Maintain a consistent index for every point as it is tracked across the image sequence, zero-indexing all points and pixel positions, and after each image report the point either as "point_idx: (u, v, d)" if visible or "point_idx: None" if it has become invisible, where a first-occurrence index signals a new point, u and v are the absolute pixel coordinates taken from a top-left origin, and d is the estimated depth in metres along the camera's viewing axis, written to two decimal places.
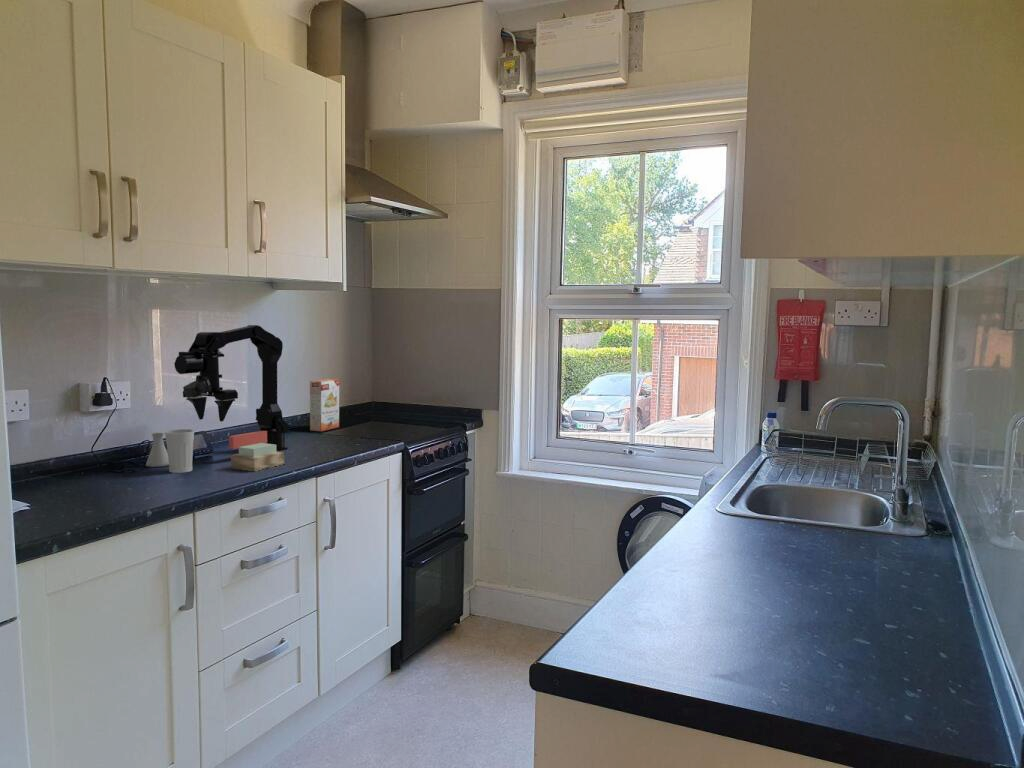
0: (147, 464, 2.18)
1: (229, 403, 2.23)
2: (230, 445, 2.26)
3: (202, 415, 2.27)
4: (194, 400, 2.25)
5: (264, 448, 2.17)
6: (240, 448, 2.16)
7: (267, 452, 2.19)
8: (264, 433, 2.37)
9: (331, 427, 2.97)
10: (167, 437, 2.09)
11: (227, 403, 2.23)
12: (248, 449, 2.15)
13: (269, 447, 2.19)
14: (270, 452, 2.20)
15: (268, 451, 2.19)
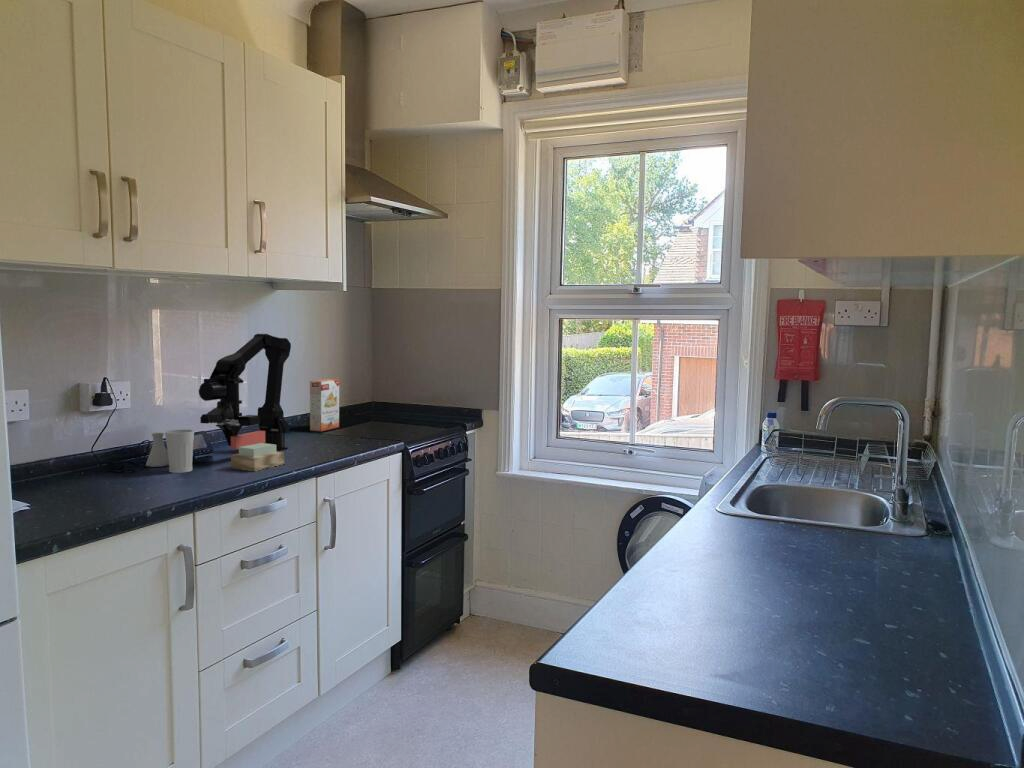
0: (147, 464, 2.18)
1: (239, 428, 2.29)
2: (232, 445, 2.26)
3: None
4: (224, 427, 2.26)
5: (264, 448, 2.17)
6: (240, 448, 2.16)
7: (267, 452, 2.19)
8: (262, 433, 2.37)
9: (331, 427, 2.97)
10: (167, 437, 2.09)
11: (237, 428, 2.29)
12: (248, 449, 2.15)
13: (269, 447, 2.19)
14: (270, 452, 2.20)
15: (268, 451, 2.19)
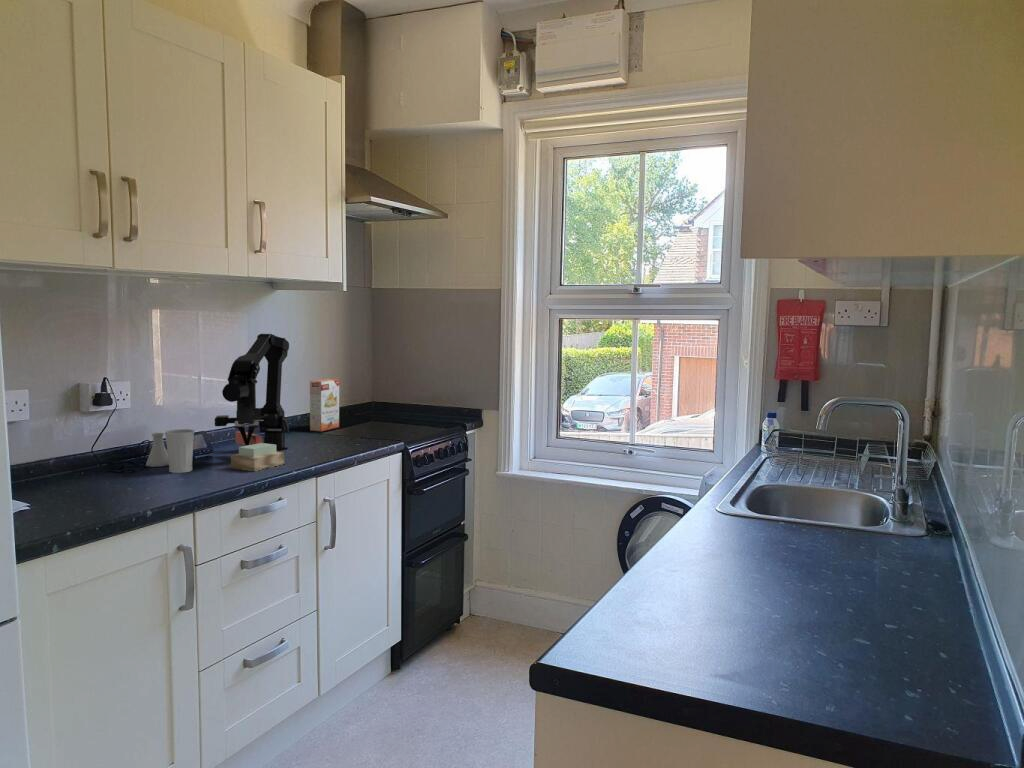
0: (147, 464, 2.18)
1: None
2: None
3: None
4: (244, 428, 2.25)
5: (264, 448, 2.17)
6: (240, 448, 2.16)
7: (267, 452, 2.19)
8: None
9: (331, 427, 2.97)
10: (167, 437, 2.09)
11: None
12: (248, 449, 2.15)
13: (269, 447, 2.19)
14: (270, 452, 2.20)
15: (268, 451, 2.19)
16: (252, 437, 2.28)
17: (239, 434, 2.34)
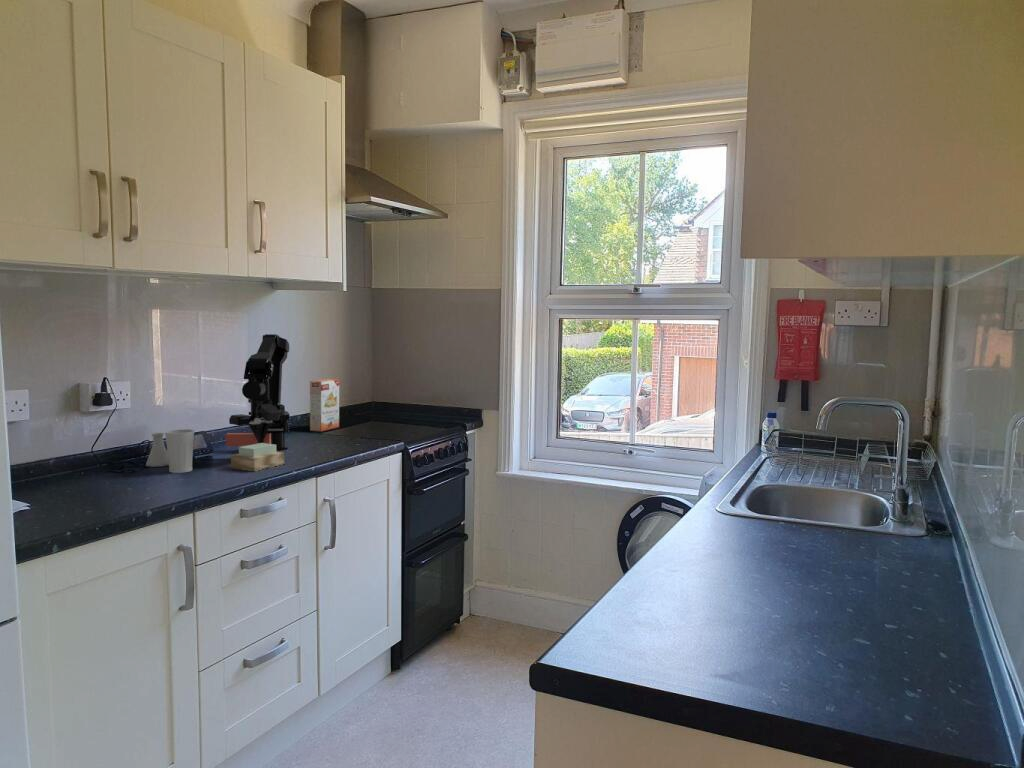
0: (147, 464, 2.18)
1: None
2: (270, 442, 2.33)
3: None
4: None
5: (264, 448, 2.17)
6: (240, 448, 2.16)
7: (267, 452, 2.19)
8: None
9: (331, 427, 2.97)
10: (167, 437, 2.09)
11: None
12: (248, 449, 2.15)
13: (269, 447, 2.19)
14: (270, 452, 2.20)
15: (268, 451, 2.19)
16: None
17: (234, 436, 2.31)
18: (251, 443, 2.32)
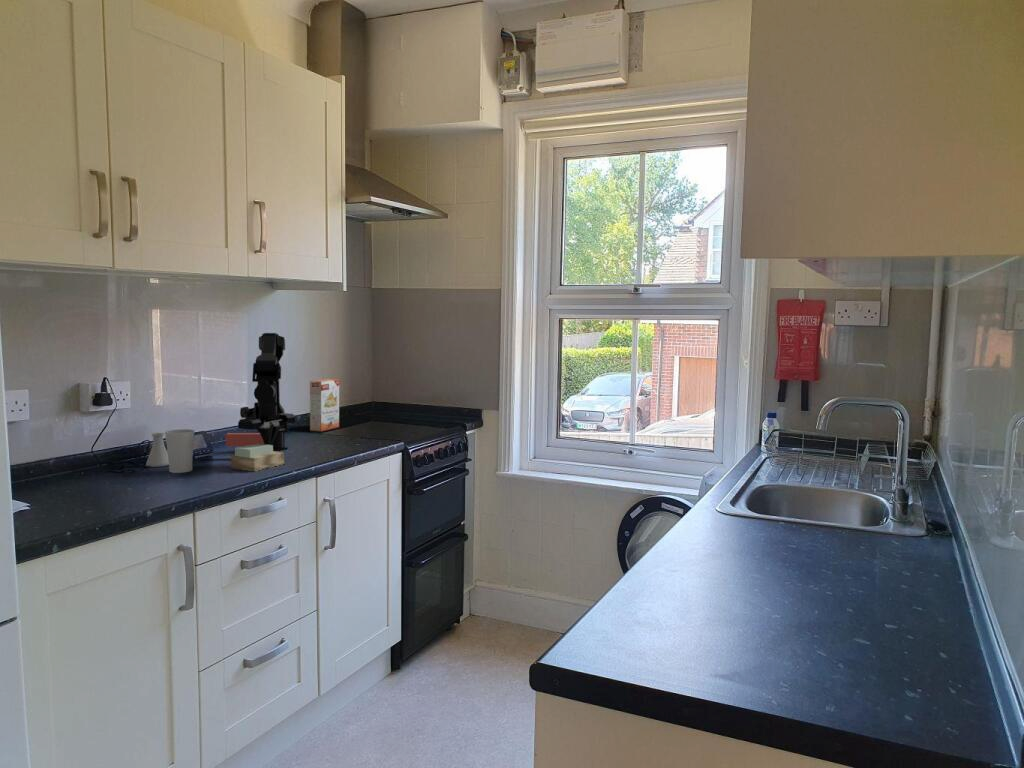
0: (147, 464, 2.18)
1: (266, 431, 2.20)
2: None
3: None
4: None
5: (260, 449, 2.16)
6: (236, 449, 2.15)
7: (263, 453, 2.17)
8: None
9: (331, 427, 2.97)
10: (167, 437, 2.09)
11: (266, 431, 2.20)
12: (244, 450, 2.14)
13: (265, 448, 2.18)
14: (266, 453, 2.18)
15: (264, 452, 2.18)
16: None
17: (234, 436, 2.31)
18: (251, 443, 2.32)
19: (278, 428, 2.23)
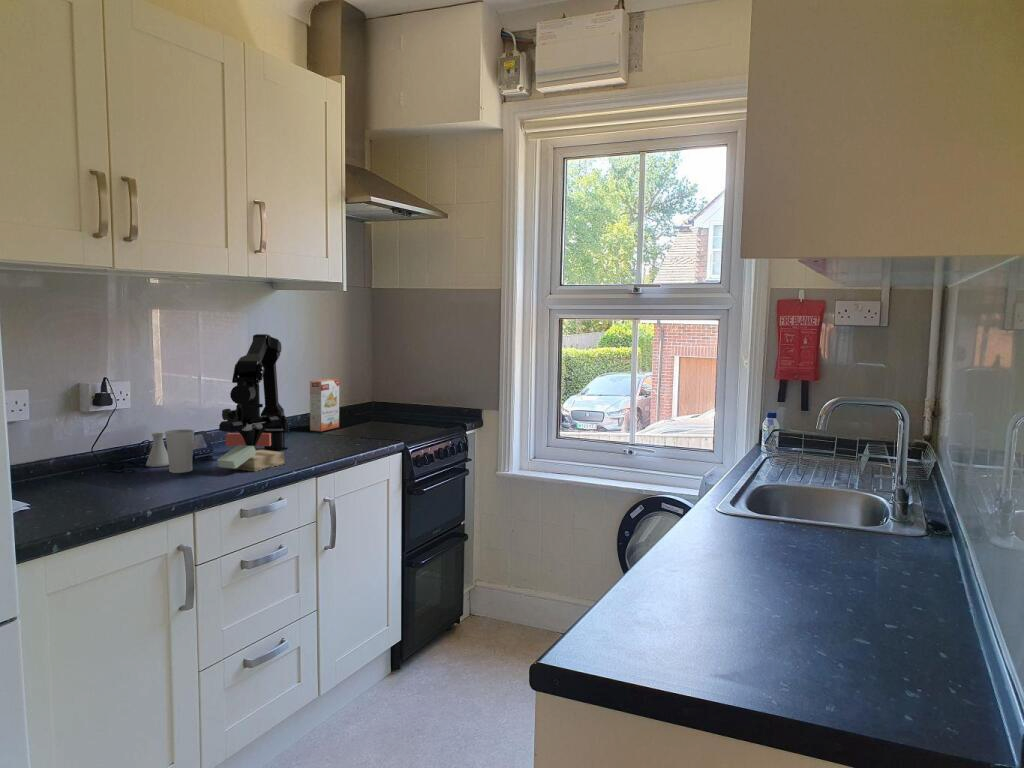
0: (147, 464, 2.18)
1: (249, 434, 2.14)
2: (270, 442, 2.33)
3: None
4: None
5: (243, 455, 2.10)
6: (219, 461, 2.09)
7: (247, 457, 2.12)
8: None
9: (331, 427, 2.97)
10: (167, 437, 2.09)
11: (248, 434, 2.14)
12: (227, 461, 2.08)
13: (248, 452, 2.12)
14: (250, 456, 2.13)
15: (248, 456, 2.12)
16: (262, 435, 2.32)
17: (234, 436, 2.31)
18: None
19: (261, 431, 2.17)
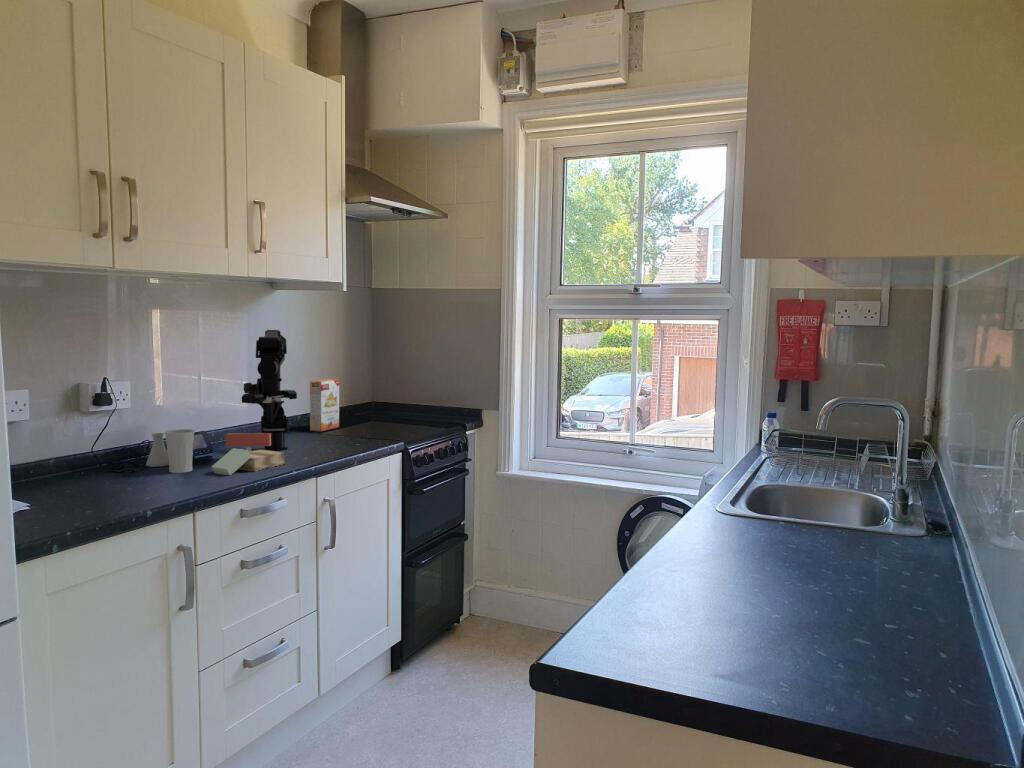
0: (147, 464, 2.18)
1: (269, 406, 2.28)
2: (270, 442, 2.33)
3: None
4: None
5: (237, 461, 2.09)
6: (213, 467, 2.08)
7: (242, 462, 2.10)
8: None
9: (331, 427, 2.97)
10: (167, 437, 2.09)
11: (268, 406, 2.29)
12: (222, 469, 2.06)
13: (242, 457, 2.10)
14: (245, 460, 2.11)
15: (242, 461, 2.10)
16: (262, 435, 2.32)
17: (234, 436, 2.31)
18: (251, 443, 2.32)
19: (280, 403, 2.31)
